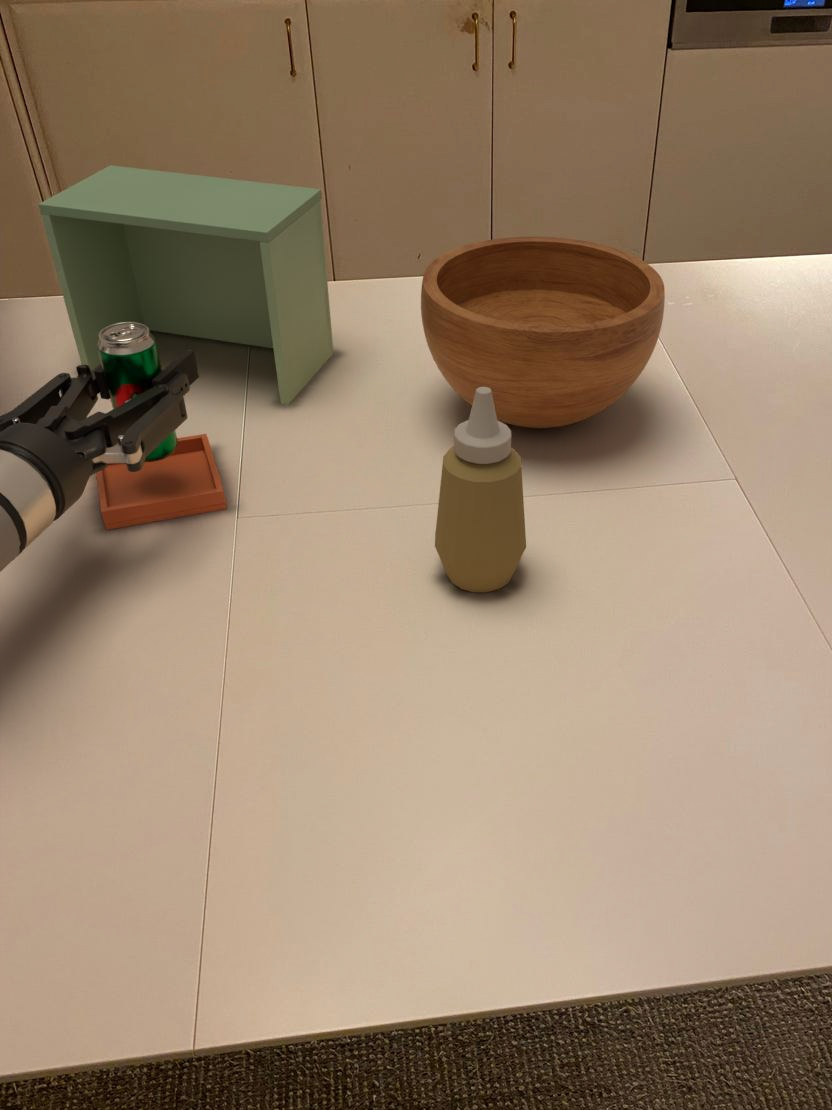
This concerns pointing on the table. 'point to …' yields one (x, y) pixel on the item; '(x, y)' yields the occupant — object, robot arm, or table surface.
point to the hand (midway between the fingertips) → (165, 359)
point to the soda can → (132, 369)
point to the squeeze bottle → (481, 502)
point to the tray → (162, 486)
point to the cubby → (195, 263)
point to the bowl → (541, 325)
